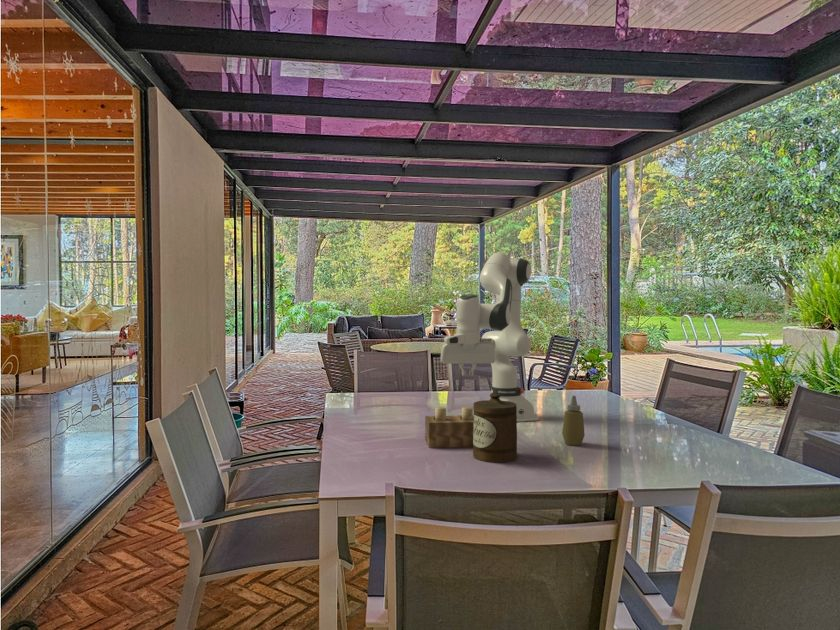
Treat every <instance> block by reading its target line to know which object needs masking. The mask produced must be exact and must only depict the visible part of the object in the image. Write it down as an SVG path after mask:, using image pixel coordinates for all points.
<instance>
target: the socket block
mask: <svg viewBox="0 0 840 630" xmlns="http://www.w3.org/2000/svg"><path fill="white" fill-rule="evenodd" d="M424 419H425V422H424V423H425V424H424V427H425V430H424V432H425V433H424V438H425V442H426V445H427V446H428V448H429V449H431V448H433V449H434V448H437V449H438V448H442V449H443V448H473V426H474V414H473V420H462V414H461V415H446V421H435V415H425V416H424Z"/></svg>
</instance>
